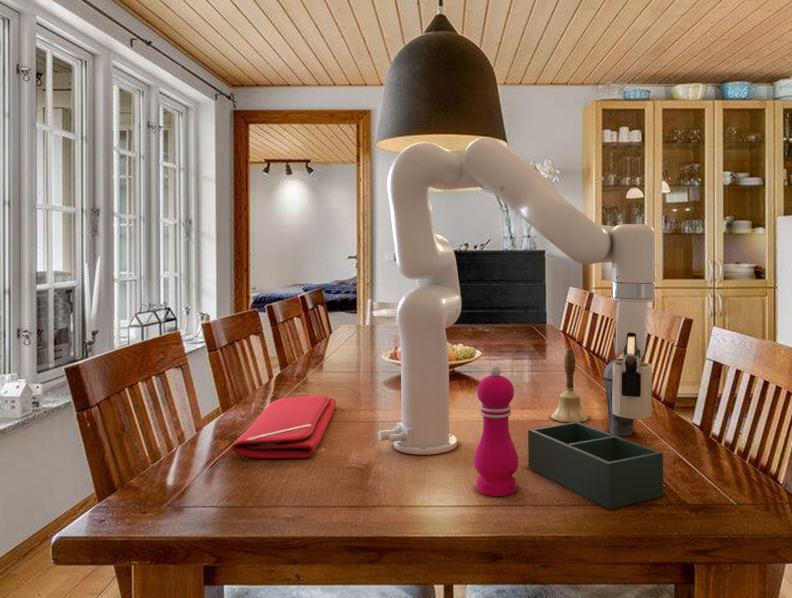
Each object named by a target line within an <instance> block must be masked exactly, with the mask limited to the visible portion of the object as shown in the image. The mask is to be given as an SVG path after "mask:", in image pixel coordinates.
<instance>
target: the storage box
mask: <svg viewBox="0 0 792 598" xmlns="http://www.w3.org/2000/svg"><path fill="white" fill-rule="evenodd" d="M527 447H528V448H527V449H528V450H527V451H528V452H527V454H528V455H527V457H528V459H527V461H528V465H527V466H528V468H527V469H530V470H531V471H533V472H536V473H538V474H540V475H542V476H544V477H546V478H547V479H549V480H551V481H553V482H555V483H557V484H559V485H561V486H563V487H565V488H567V489H569V490H570V491H573V492H575V493H577V494H579V495H580V496H583V497H584V498H586V499H588V500H590V501H592V502H594V503H596V504H597V505H600V506H602V507H604V508H606V509H607V510H612V509H617V508H620V507H624V506H629V505H633V504H636V503H640V502H645V501H649V500H653V499H656V498H661V497H664V495H665V493H664V492H665V491H664V452H662V451H659V450H657V449H654V448H651V447H649V446H645V445H643V444H640V443H637V442H635V441H631V440H629V439H626V438H623V437H622V436H618V435H613V434H611V433H610V432H608V431H604V430H601V429H598V428H596V427H594V426H590V425H588V424H586V423H583V422H572V423H569V422H565V423H561V424H554V425H549V426H548V425H547V426H541V427H536V428H531V429H528V430H527Z"/></svg>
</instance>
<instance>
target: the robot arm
mask: <svg viewBox="0 0 792 598" xmlns="http://www.w3.org/2000/svg"><path fill="white" fill-rule="evenodd" d="M386 185H387V186H386V189H387V198H388V204H389V210H390V219H391V229H392V237H393V245H394V254H395V261H396V266H397V269H398V271H399V272H400V274H401V275H402V276H404V277H405V278H407V279H409V280H415V284H416V287H414V288H412V289H410V290H408V291H407V292H406V293H404V295H403V296H402V297H401V299H400V300H399V302H398V306H397V308H396V309H397V310H396V325H397V330H398V336H399V337H398V338H399V345H400V390H401V392H400V399H401V400H400V404H401V407H400V408H401V409H400V410H401V411H400V412H401V415H400V419H401V421H400V422H396V426H394V427H393V428H392V429H384V430H379V431H377V440H378V441H379V442H384V441H389V442H390V443H393V447H394V449H395V450H397V451H398V452H401V453H404V454H409V455H417V456H419V455H421V456H426V455H427V456H428V455H429V456H430V455H438V454H443V453H447V452H450V451H453V450H454V449H456V448H457V446H458V439H457V437H456V436H455V435H453V434H451V433H450V365H449V364H450V363H449V360H450V359H449V345H448V340H447V339H448V338H447V333H446V329H447V328H450V327H451V326H453V325H454V324H455V323H456V322H457V321H458V319H459V318H460V315H461V312H462V295H461V287H460V280H459V275H458V274H459V272H458V265H457V259H456V254H455V251H454V249H453V246H452V245H451V243H450V242H449V240H448V239H446V238H445V237H444V236H442V235H441V234H437V231H436V227H435V219H434V218H435V217H434V210H433V206H432V203H431V200H430V196H429V188H431V189H432V188H433V189H436V190H441V191H443V190H445V191H447V190H448V191H449V190H459V189H470V188H482V187H485V188H486V189H487V190H488V191H490V192H491V193H492V194H493V195H495V196H496V197H497V198H498V199H499V200H500V201H502V202H503V203H504V204H505V205H506V206H508V207H509V208H510V209H511V210H512V211H513V212H515V213H516V214H517V215H519V217H520V218H521V219H523V220H524V221H525V222H526V223H528V224H529V225H530V226H531V227H532V228H534V230H536V232H538V233H539V234H540V235H542V236H543V237H544V238H545V239H546V240H547V241H549V242H550V243H551V244H552V245H554V246H555V248H557V249H559V251H561V252H562V253H563V254H565V255H566V256H567V257H568V258H570V259H571V260H573V261H574V262H576V263H578V264H581V265H593V264H594V265H595V264H600V263H609V262H611V298H610V299H611V301H614V302H616V314H615V338H616V349H615V348H614V354H615V355H616V356H617V357H618V358H619V357H620V356H622V355H623V356H622V357H623V358H622V359H623V372H622V395H623V396H631V397H640V395H641V374H639V364H640V362H642V361H641V360H642V358H643V357H644V356H645V351H646V345H647V334H648V333H647V332H648V303H654V302H656V301H655V300H656V299H655V297H656V295H655V293H656V292H655V291H656V290H655V289H656V287H655V284H656V283H655V282H656V281H655V280H656V278H655V277H656V232H655V229H654V227H653V226H651V225H650V224H645V223H644V224H643V223H641V224H640V223H624V224H618V225H607V224H606V225H605V224H599V223H596V222H594V220H592V219H591V218H589V217H588V216H587V215H585V214H584V213H583V212H582V211H580V210H579V209H578V208H576V207H575V206H574V205H573V204H571V203H570V202H569V201H568V200H567V199H566V198H564V197H563V196H562V195H561V194H560V193H559V192H558V191H557V190H556V189H555V187H554V185H553V184H552V183H551V182H550V181H549V180H548V179H547V178H546V177H545V176H543V174H541V173H540V172H538V171H537V170H536V169H534V168H533V167H532V166H530V164H528V163H527V162H525V161H524V160H523V159H522V158H521V157H519V156H518V155H516V154H515V153H514V152H513V151H512V150H511V149H510V148H509V147H508V146H507V145H505V144H503V143H502V142H501V141H498V140H497V139H495V138H493V137H489V136H483V137H479V138H477V139H476V138H475V139H474V140H473V141H471V142H470V143H469V144H468V146H467V147H466V148H465V147H464V148H454V149H447V148H445V147H443V146H441V145H438V144H437V143H433V142H429V141H428V142H427V141H421V142H416V143H413V144H410V145H409V146H407V147H406V148H403V150H402V151H401V152H399V153H398V155H397V156H395V159H393V162H392V163H391V166H390V168H389V171H388V175H387V184H386ZM616 356H615V357H616Z"/></svg>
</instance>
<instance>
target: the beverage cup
mask: <svg viewBox="0 0 792 598" xmlns="http://www.w3.org/2000/svg"><path fill="white" fill-rule="evenodd" d="M612 340H613V347H614V350H615V349H616V337H613V339H612ZM616 361H623V358H619V357H617V356H616V355H615V359H613V360H610V362H608V363H607V365H606V366H605V368H604V371H603V376H602V377H603V378H602V379H603V383H604V384H603V385H604V388H605V392H606V405H607V417H608V425H609V433H610V434H613V435H615V436H618V437H629V436H632V435H633V429H634V421H635V419H630V418H623V417H619V416H616V415H614V414H613V413H612V381H613V362H616Z"/></svg>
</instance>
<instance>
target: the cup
mask: <svg viewBox="0 0 792 598" xmlns="http://www.w3.org/2000/svg"><path fill="white" fill-rule="evenodd" d="M622 372H623V361H616V362H613V381H612V413H613V414H614V415H616V416H619V417H623V418H630V419H634V420H643V419H649V418H651V417H652V406H653V405H652V402H653V401H652V397H653V392H652V390H653V388H652V387H653V364H651V363H650V362H645V361H641V362H640V364H639V374H641V395H640V397H631V396H623V395H622Z"/></svg>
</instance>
